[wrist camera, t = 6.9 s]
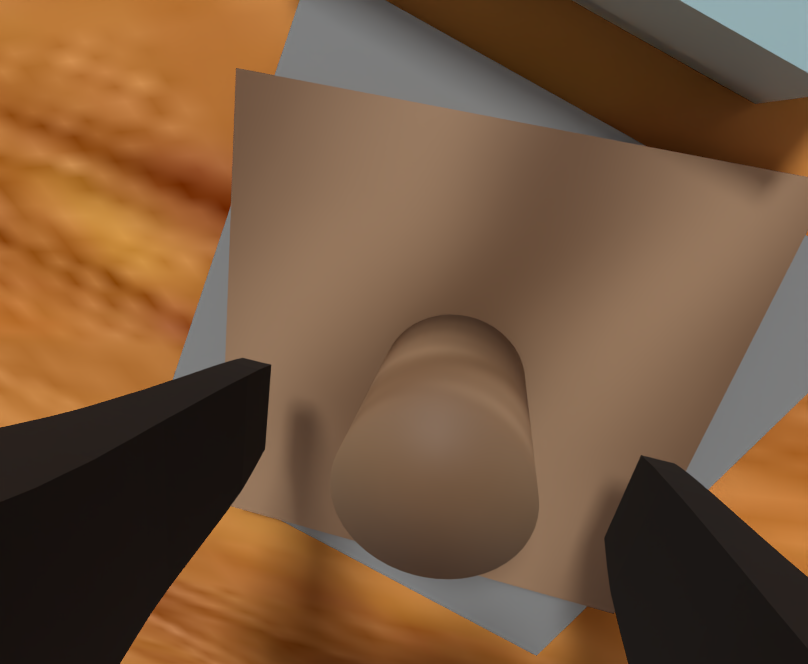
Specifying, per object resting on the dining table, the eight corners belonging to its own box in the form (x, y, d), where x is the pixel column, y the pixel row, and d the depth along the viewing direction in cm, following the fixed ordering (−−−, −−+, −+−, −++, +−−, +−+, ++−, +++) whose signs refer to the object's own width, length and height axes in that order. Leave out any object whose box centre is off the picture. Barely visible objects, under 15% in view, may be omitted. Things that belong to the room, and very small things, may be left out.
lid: (812, 179, 9) (1088, 215, 5) (609, 594, 13) (660, 805, 9) (250, 71, 10) (72, 23, 6) (230, 489, 14) (119, 634, 10)
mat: (895, 287, 10) (910, 294, 9) (535, 643, 15) (536, 655, 15) (320, -34, 10) (313, -40, 9) (157, 442, 15) (149, 450, 14)
